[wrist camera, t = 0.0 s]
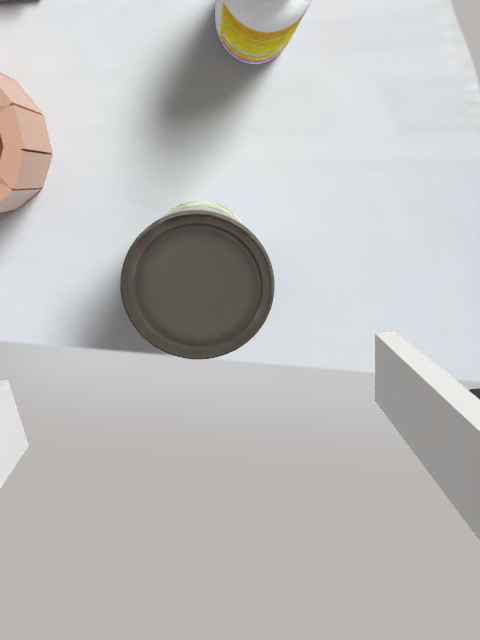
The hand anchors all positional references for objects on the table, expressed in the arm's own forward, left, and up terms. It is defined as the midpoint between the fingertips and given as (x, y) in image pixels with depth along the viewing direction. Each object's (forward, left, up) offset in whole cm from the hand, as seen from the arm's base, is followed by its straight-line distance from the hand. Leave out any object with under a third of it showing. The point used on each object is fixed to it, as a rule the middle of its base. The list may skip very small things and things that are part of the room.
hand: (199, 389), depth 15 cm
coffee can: (0, 0, -28) cm, 28 cm away
